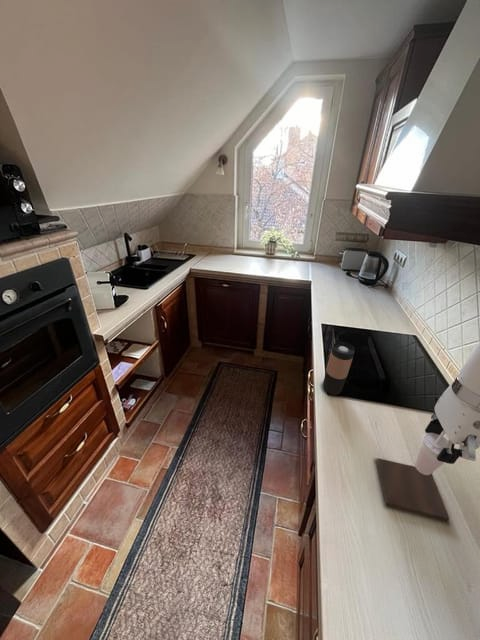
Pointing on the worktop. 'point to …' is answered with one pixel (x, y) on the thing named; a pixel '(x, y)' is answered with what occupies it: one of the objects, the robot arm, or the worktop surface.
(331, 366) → the travel mug
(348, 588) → the worktop surface
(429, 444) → the smoothie
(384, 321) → the worktop surface
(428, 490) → the walnut board
